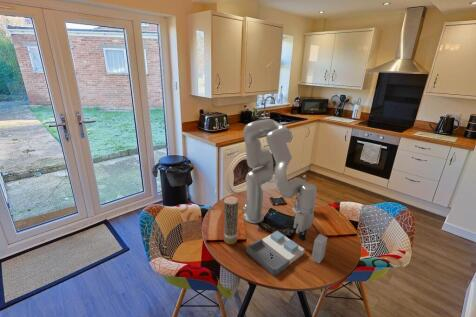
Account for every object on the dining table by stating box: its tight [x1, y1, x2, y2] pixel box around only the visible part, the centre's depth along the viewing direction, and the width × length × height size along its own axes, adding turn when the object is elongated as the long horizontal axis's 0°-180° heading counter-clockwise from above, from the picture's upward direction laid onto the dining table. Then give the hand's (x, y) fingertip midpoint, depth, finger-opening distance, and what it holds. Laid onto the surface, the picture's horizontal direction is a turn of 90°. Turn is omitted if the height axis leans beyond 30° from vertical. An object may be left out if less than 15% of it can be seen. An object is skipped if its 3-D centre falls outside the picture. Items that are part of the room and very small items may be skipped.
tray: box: [245, 238, 290, 277], centre depth 117 cm, size 19×10×4 cm, turn 39°
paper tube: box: [223, 195, 239, 245], centre depth 125 cm, size 7×7×25 cm
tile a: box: [284, 239, 300, 254], centre depth 120 cm, size 5×5×2 cm
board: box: [261, 234, 305, 265], centre depth 124 cm, size 18×12×3 cm, turn 39°
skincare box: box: [311, 233, 328, 264], centre depth 117 cm, size 6×4×12 cm
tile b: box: [270, 230, 285, 243], centre depth 127 cm, size 5×5×2 cm
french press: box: [290, 174, 307, 214], centre depth 154 cm, size 10×12×25 cm
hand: (301, 239), depth 125 cm, fingers closed
